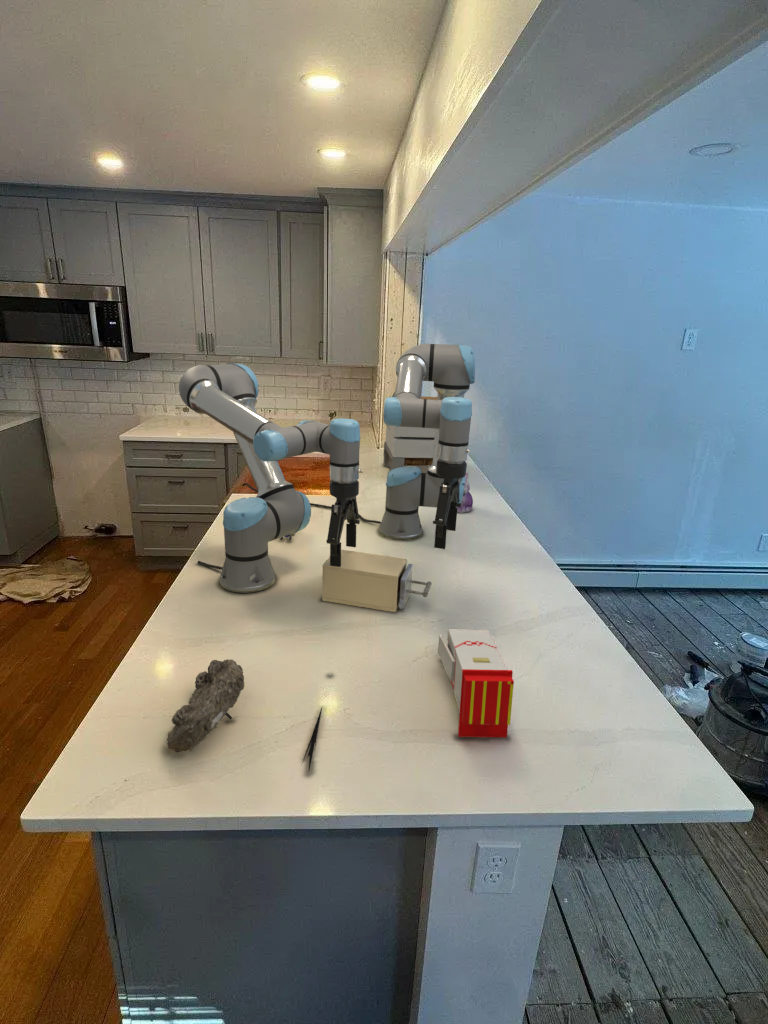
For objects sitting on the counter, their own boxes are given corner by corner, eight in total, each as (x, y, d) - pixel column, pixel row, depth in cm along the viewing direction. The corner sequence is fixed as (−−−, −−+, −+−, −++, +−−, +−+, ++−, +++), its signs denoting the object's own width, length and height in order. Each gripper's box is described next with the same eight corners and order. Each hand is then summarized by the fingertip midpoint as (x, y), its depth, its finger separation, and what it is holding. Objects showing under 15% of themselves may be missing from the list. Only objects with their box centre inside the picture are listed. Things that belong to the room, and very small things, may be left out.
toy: (488, 613, 130) (523, 677, 101) (484, 667, 133) (517, 744, 104) (435, 612, 130) (455, 676, 101) (432, 666, 133) (451, 743, 103)
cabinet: (404, 593, 159) (406, 558, 155) (395, 612, 148) (397, 576, 145) (335, 582, 163) (336, 548, 159) (322, 600, 152) (322, 565, 149)
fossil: (192, 660, 117) (244, 628, 112) (224, 691, 120) (276, 661, 115) (142, 746, 98) (202, 712, 93) (182, 779, 101) (242, 748, 96)
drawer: (431, 595, 156) (433, 567, 153) (425, 612, 147) (427, 583, 144) (345, 581, 161) (346, 554, 158) (334, 597, 152) (334, 569, 149)
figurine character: (295, 547, 188) (300, 526, 202) (294, 527, 185) (300, 506, 198) (274, 546, 188) (281, 525, 201) (273, 526, 185) (280, 506, 198)
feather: (331, 679, 122) (336, 673, 122) (307, 777, 96) (313, 769, 95) (324, 675, 122) (329, 669, 121) (298, 772, 95) (304, 764, 95)
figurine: (459, 514, 221) (463, 477, 216) (445, 506, 229) (448, 470, 224) (479, 511, 225) (483, 475, 220) (464, 503, 234) (467, 468, 228)
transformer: (382, 463, 289) (386, 382, 275) (445, 464, 293) (451, 384, 279) (390, 482, 257) (394, 392, 243) (460, 483, 261) (468, 394, 247)
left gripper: (343, 495, 133) (342, 576, 141) (371, 469, 156) (369, 540, 163) (313, 492, 135) (314, 572, 142) (345, 466, 158) (344, 537, 165)
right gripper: (457, 474, 130) (449, 558, 137) (474, 451, 153) (467, 525, 160) (425, 470, 132) (419, 553, 139) (447, 448, 155) (441, 521, 162)
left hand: (343, 555), depth 153 cm, fingers open, 13 cm apart
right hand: (445, 538), depth 149 cm, fingers open, 13 cm apart
